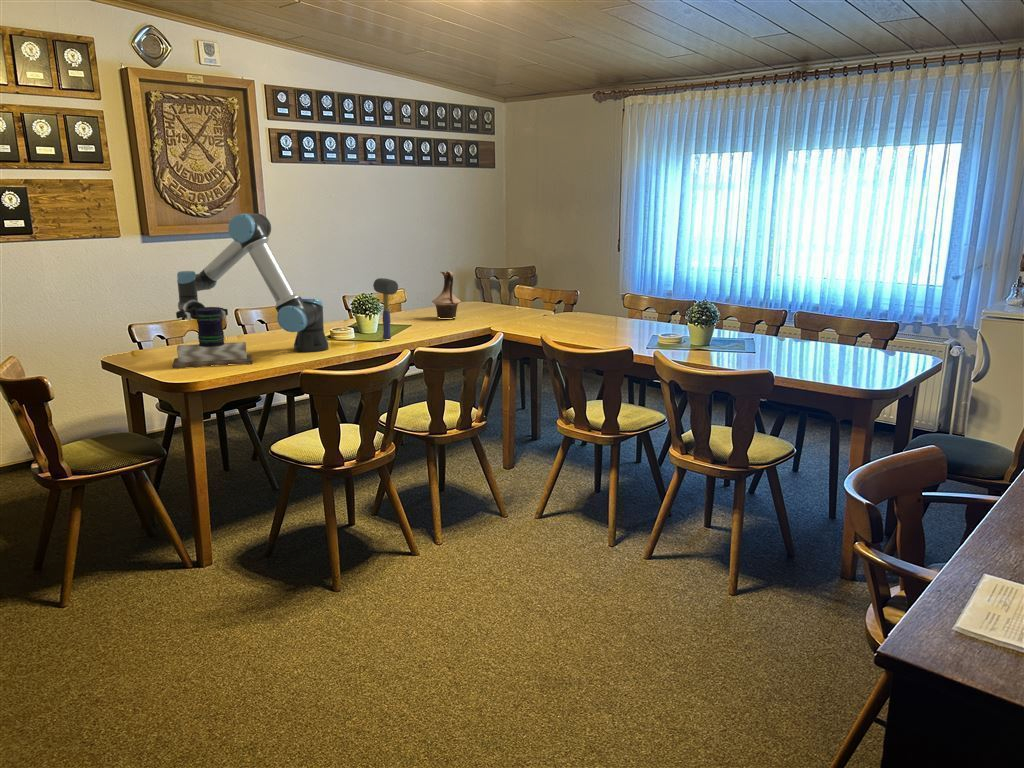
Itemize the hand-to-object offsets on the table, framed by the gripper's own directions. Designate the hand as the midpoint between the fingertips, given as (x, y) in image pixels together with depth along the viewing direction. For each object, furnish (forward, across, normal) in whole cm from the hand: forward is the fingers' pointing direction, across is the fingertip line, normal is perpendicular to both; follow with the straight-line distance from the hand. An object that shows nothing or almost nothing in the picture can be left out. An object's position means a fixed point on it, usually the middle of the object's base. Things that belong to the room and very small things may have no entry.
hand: (207, 316), depth 297 cm
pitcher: (-51, -144, -19) cm, 154 cm away
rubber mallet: (-7, -84, -19) cm, 86 cm away
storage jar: (+2, 0, -12) cm, 12 cm away
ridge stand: (+2, 0, -19) cm, 19 cm away
